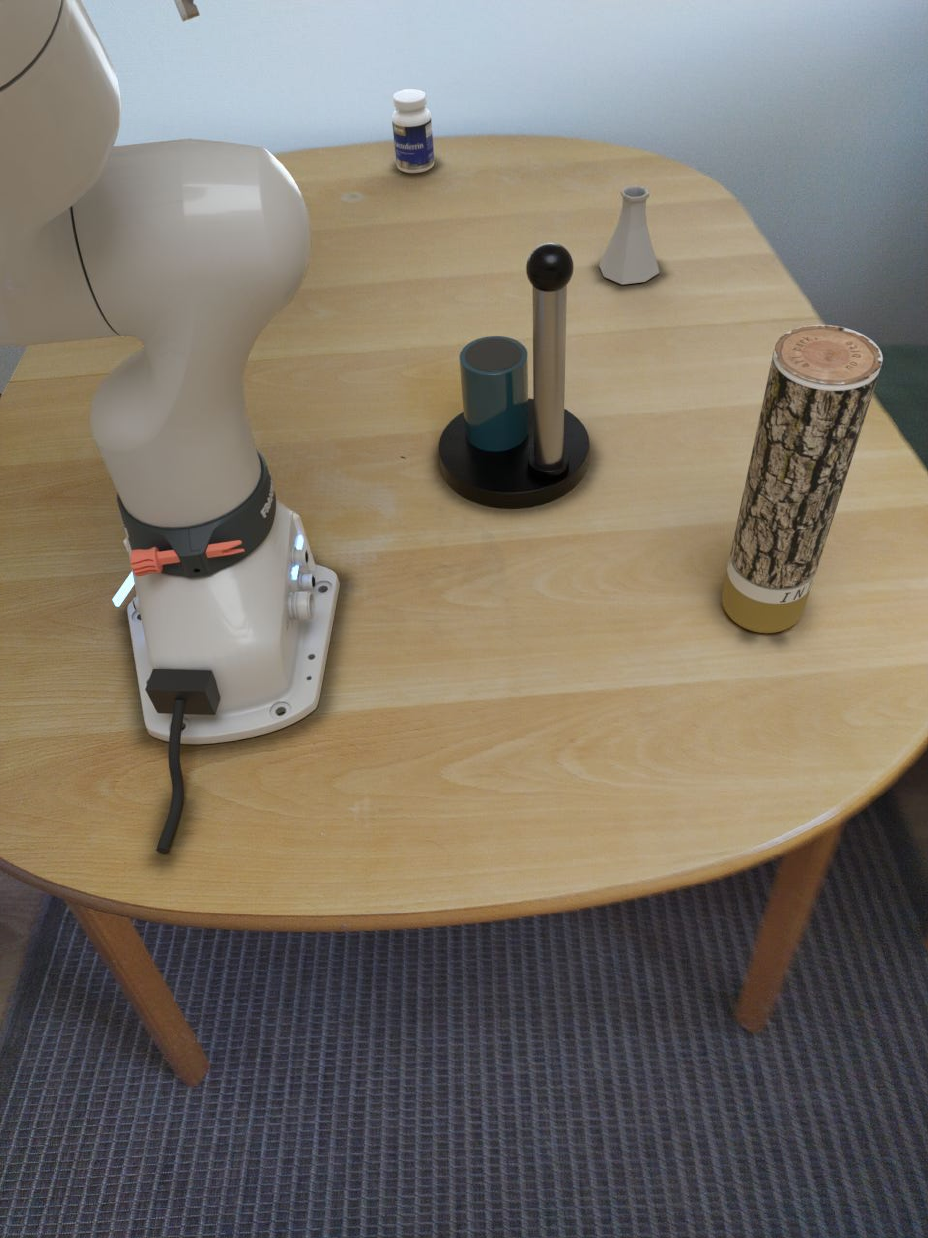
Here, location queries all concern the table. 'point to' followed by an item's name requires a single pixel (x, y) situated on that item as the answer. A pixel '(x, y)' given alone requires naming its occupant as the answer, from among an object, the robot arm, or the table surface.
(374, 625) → the table surface
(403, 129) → the pill bottle
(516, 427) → the cup
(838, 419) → the paper tube
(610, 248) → the flask
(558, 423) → the towel holder
